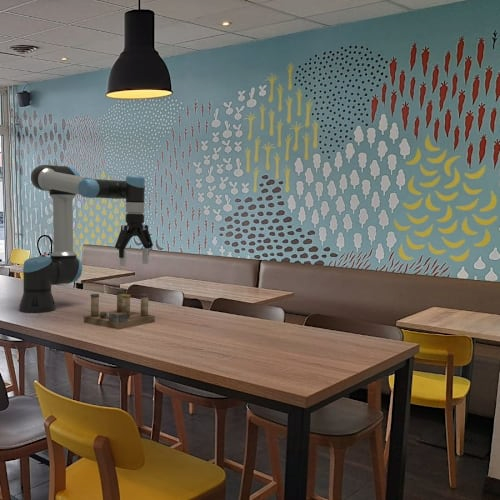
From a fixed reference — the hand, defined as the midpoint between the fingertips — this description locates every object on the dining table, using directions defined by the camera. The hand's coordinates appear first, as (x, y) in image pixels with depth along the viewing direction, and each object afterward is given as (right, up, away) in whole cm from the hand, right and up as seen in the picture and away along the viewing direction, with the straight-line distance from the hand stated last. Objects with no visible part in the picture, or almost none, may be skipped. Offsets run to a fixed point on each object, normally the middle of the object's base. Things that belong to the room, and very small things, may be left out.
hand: (134, 264), depth 240 cm
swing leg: (-6, -21, -7) cm, 23 cm away
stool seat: (-5, -23, -3) cm, 24 cm away
